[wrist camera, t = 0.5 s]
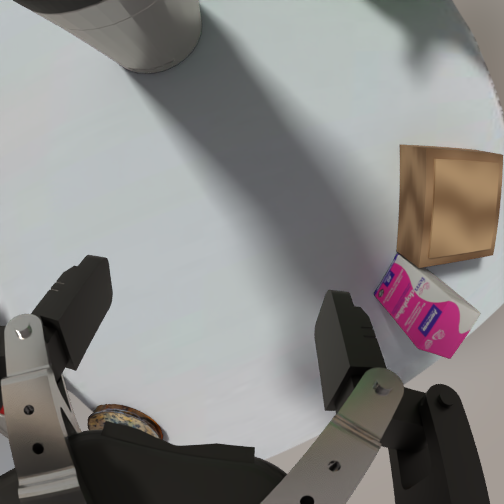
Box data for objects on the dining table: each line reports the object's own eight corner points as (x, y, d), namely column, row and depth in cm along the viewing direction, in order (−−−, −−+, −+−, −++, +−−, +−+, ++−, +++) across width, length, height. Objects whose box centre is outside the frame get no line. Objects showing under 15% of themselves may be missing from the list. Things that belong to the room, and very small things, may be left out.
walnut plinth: (399, 144, 30) (427, 148, 25) (475, 149, 31) (504, 155, 26) (396, 251, 34) (420, 268, 29) (468, 241, 35) (494, 255, 30)
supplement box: (394, 251, 34) (453, 297, 23) (426, 268, 35) (483, 313, 25) (370, 294, 36) (418, 350, 25) (403, 307, 37) (452, 360, 26)
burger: (84, 395, 38) (69, 433, 31) (162, 410, 40) (156, 451, 33) (97, 441, 42) (87, 475, 35) (164, 453, 44) (160, 489, 37)
